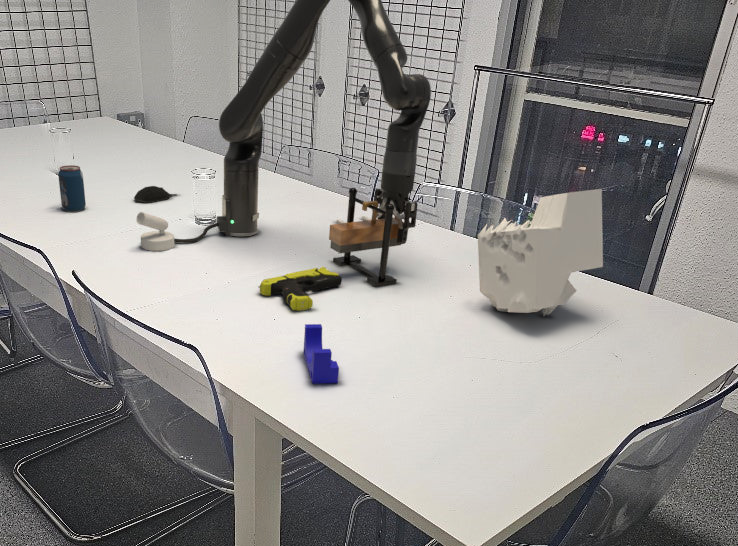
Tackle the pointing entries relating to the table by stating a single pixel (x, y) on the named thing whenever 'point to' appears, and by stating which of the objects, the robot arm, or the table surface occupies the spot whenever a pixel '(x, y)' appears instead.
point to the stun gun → (300, 286)
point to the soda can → (71, 188)
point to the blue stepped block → (318, 356)
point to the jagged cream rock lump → (541, 253)
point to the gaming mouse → (152, 194)
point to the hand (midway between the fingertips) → (390, 238)
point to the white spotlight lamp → (155, 233)
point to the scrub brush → (362, 233)
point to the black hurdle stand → (354, 260)
